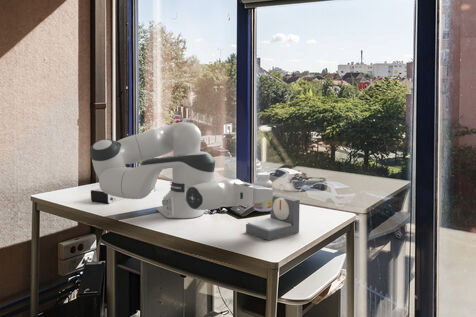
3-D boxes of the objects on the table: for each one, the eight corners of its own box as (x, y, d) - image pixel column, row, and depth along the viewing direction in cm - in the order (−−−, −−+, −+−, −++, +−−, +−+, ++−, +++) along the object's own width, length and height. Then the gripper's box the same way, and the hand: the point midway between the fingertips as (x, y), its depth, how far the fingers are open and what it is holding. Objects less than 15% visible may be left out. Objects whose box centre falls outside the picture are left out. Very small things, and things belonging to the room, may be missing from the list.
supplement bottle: (270, 207, 145) (270, 172, 144) (274, 211, 138) (274, 174, 137) (252, 207, 144) (252, 172, 143) (255, 212, 138) (255, 175, 136)
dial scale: (245, 232, 145) (245, 199, 143) (276, 224, 154) (276, 194, 153) (268, 240, 135) (268, 206, 134) (299, 232, 145) (299, 199, 143)
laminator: (139, 190, 223) (139, 179, 222) (156, 192, 217) (156, 181, 217) (91, 202, 193) (90, 190, 193) (109, 205, 188) (109, 192, 187)
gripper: (216, 196, 141) (246, 191, 150) (252, 207, 125) (284, 201, 133) (216, 178, 141) (247, 175, 149) (252, 187, 124) (285, 183, 133)
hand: (265, 187), depth 141 cm, fingers closed on supplement bottle, 7 cm apart
